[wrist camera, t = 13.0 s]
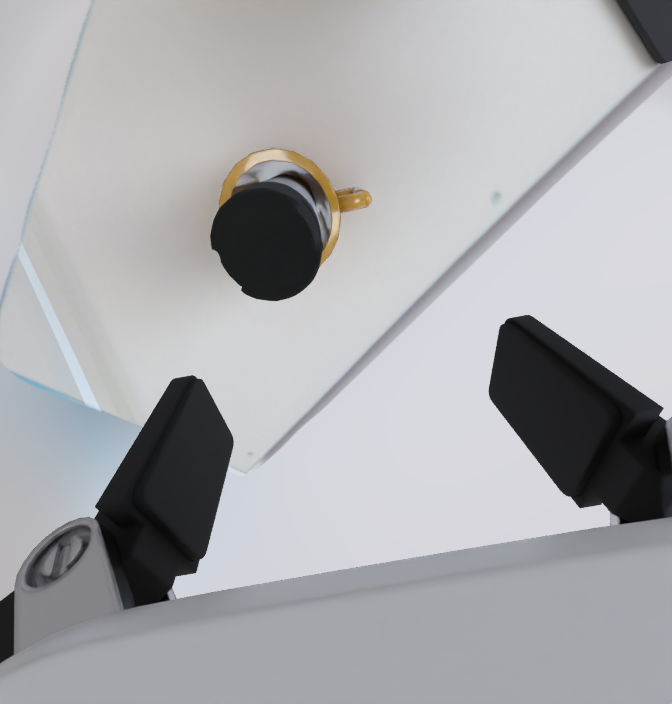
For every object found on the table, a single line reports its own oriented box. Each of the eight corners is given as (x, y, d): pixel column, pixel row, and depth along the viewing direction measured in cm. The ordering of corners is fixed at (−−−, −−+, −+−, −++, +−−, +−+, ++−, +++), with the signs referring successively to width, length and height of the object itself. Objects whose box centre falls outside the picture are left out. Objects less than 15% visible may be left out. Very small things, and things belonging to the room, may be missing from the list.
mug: (258, 260, 38) (244, 288, 29) (226, 163, 32) (197, 164, 24) (364, 237, 37) (381, 259, 29) (351, 135, 31) (368, 126, 23)
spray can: (277, 247, 36) (252, 321, 20) (245, 191, 33) (182, 222, 16) (325, 222, 35) (343, 277, 18) (298, 161, 32) (289, 161, 15)
